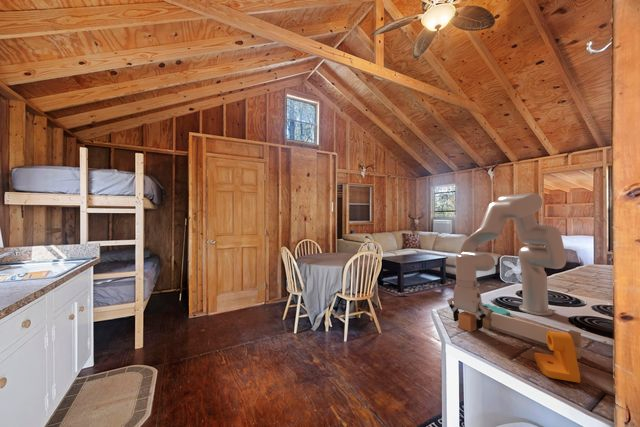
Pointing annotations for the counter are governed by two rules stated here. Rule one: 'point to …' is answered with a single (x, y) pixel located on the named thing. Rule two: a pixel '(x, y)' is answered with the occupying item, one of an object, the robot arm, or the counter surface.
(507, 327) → the gate door
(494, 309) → the alien figure
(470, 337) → the counter surface
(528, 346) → the counter surface
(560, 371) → the bracket
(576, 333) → the gate frame
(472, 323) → the block
